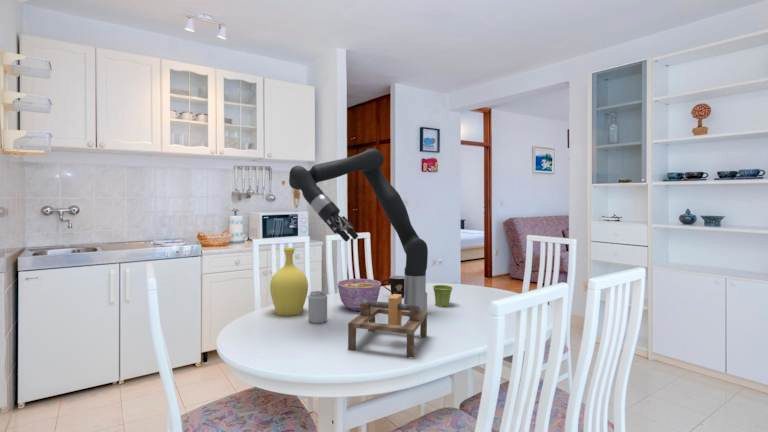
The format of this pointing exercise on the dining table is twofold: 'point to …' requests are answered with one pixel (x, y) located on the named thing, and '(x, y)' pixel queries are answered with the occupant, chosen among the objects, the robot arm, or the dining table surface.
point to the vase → (289, 287)
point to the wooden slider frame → (368, 320)
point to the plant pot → (442, 294)
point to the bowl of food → (358, 291)
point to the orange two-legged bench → (394, 309)
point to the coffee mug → (396, 285)
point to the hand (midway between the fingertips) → (352, 238)
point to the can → (317, 307)
